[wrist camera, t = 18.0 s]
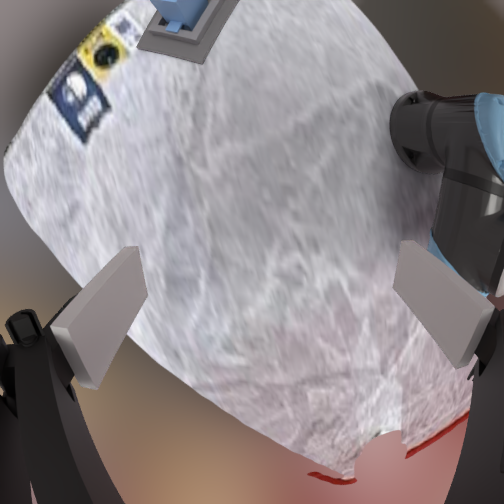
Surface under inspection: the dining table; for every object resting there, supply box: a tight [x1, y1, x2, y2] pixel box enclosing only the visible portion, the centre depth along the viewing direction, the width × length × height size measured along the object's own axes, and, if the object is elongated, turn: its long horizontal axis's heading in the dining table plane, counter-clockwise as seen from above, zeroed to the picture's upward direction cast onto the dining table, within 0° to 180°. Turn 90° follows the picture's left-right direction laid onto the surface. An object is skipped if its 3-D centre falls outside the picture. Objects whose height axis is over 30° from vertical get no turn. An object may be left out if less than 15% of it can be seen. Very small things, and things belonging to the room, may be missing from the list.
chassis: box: [137, 0, 239, 65], centre depth 30 cm, size 16×12×4 cm
